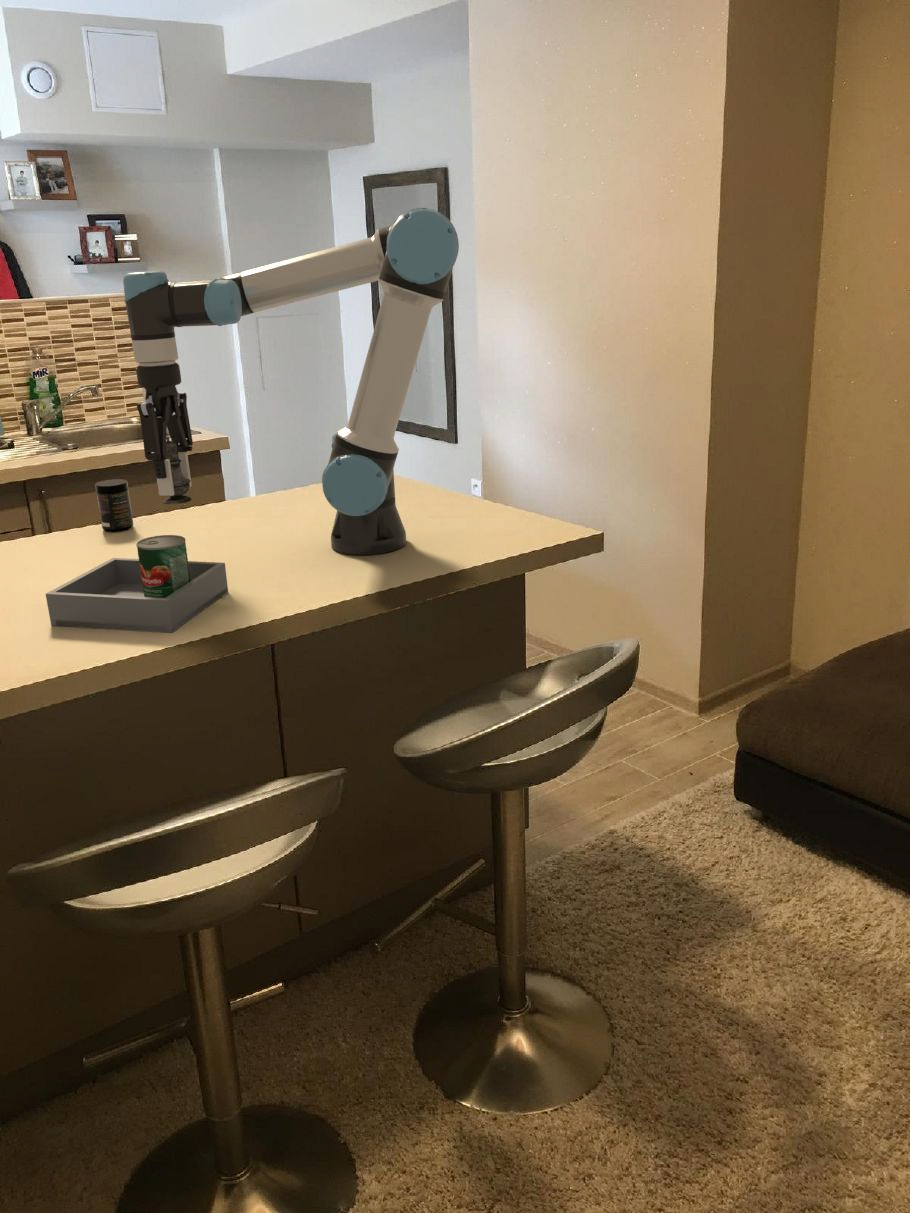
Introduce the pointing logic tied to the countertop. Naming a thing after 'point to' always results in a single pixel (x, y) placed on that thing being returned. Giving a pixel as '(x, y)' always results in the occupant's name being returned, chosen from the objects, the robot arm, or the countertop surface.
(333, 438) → the robot arm
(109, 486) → the supplement container
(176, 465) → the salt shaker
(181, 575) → the canned tomato
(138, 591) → the tote
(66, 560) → the countertop surface
